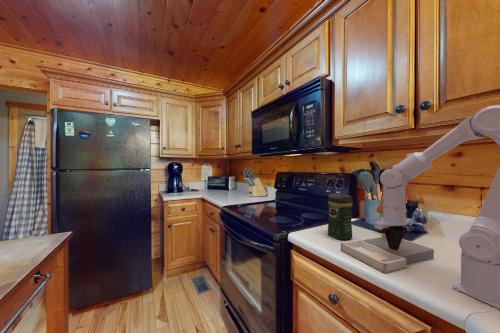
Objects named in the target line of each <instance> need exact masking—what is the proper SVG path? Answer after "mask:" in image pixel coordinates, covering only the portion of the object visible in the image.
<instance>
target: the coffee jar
mask: <svg viewBox="0 0 500 333" xmlns="http://www.w3.org/2000/svg"><path fill="white" fill-rule="evenodd" d="M327 204H328V219H327V220H328V221H327V222H328V223H327V234H328V235H329V236H331V237H332V238H335V239H337V240H345V241H347V240H349V241H350V240H351V239H352V238H353V226H352V225H353V224H352V207H353V197H352V196H351V195H348V194H345V193H338V192H337V193H334V192H332V193H329V194H328V197H327Z"/></svg>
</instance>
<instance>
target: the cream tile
mask: <svg viewBox="0 0 500 333" xmlns="http://www.w3.org/2000/svg"><path fill="white" fill-rule="evenodd" d="M367 255H369V256H372V257H374V258H376V259H378V260H380V261H382V262H389V261H390V258H388V257H386V256H383V255H381V254H379V253H377V252H374V253H369V254H367Z"/></svg>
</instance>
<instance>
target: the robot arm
mask: <svg viewBox="0 0 500 333" xmlns="http://www.w3.org/2000/svg"><path fill="white" fill-rule="evenodd" d="M483 135H484V136H485V137H488V138H490V139H492V140H493V141H494V142H495V143H496V144H497V145H498V146H499V147H500V104H495V105H494V104H493V105H490V106H486V107H483V108H482V109H480V110H479V111H477V112H476V113H475V114H474V115H473V116H472V115H470V116H469V117H467V118H465V119H464V120H463V121H461V122H460V123H459V124H458V125H456V126H455V127H454V128H453V129H451V130H450V131H448V132H447V133H446V134H445V135H443V136H442V137H440V138H439V139H438V140H436V141H435V142H434V143H433V144H431V145H430V146H429V147H427V148H426V149H424V150H423V151H422V152H420V151H419V152H416V151H415V152H413V153H407V154H406V155H405V158H404V159H402V160H401V161H400V162H398V163H397V164H393V165H392V166H391V167H392V168H387V169H384V170H383V171H382V172H381V174H380V176H379V181H380V183H381V185H383V195H382V197H383V199H382V202H383V214H382V216H381V217H380V218H379V219H380V220H378V221H377V220H376V221H374V229H377V230H381V231H382V233H383V234H385V236H386V239H387V242H388V246H389V248H390V249H392V250H395V251H396V250H398V249H399V246H400V243H401V240H402V239H404V236H405V235H406V234H407V233H408V228H407V227H404V226H413V218H408V217H406V186H407V185H408V184H409V182H410V181H411V180H413V179H414V178H416V177H418V176H419V175H421V174H422V173H424V172H425V171H427V170H428V169H430V168H432V167H433V161H434V160H435V159H437V158H439V157H440V156H443V155H444V154H446V153H447V152H450V151H451V150H453V149H454V148H456V147H458V146H459V145H461V144H463V143H464V142H468V141H476V140H482V139H483V140H484V136H483ZM458 245H459V247H460V251H461V252H460V253H461V254H460V282H458V283H455V284H452V286H451V287H452V288H453V289H455V290H456V291H459V292H461V293H463V294H465V295H468V296H470V297H471V298H475V300H479V301H480V302H484V303H486V304H487V305H490V306H492V307H494V308H497V309H499V310H500V164H499V165H498V168H497V170H496V172H495V175H494V177H493V179H492V182H491V184H490V187H489V189H488V191H487V193H486V196H485V198H484V200H483V203H482V205H481V208H480V210H479V213H478V215H477V216H476V218H475V219H474V221H473V223H472V224H471V227H470V228H469V230H468V231H466V232H465V233H463V234H462V235H461V236H459V240H458Z"/></svg>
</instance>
